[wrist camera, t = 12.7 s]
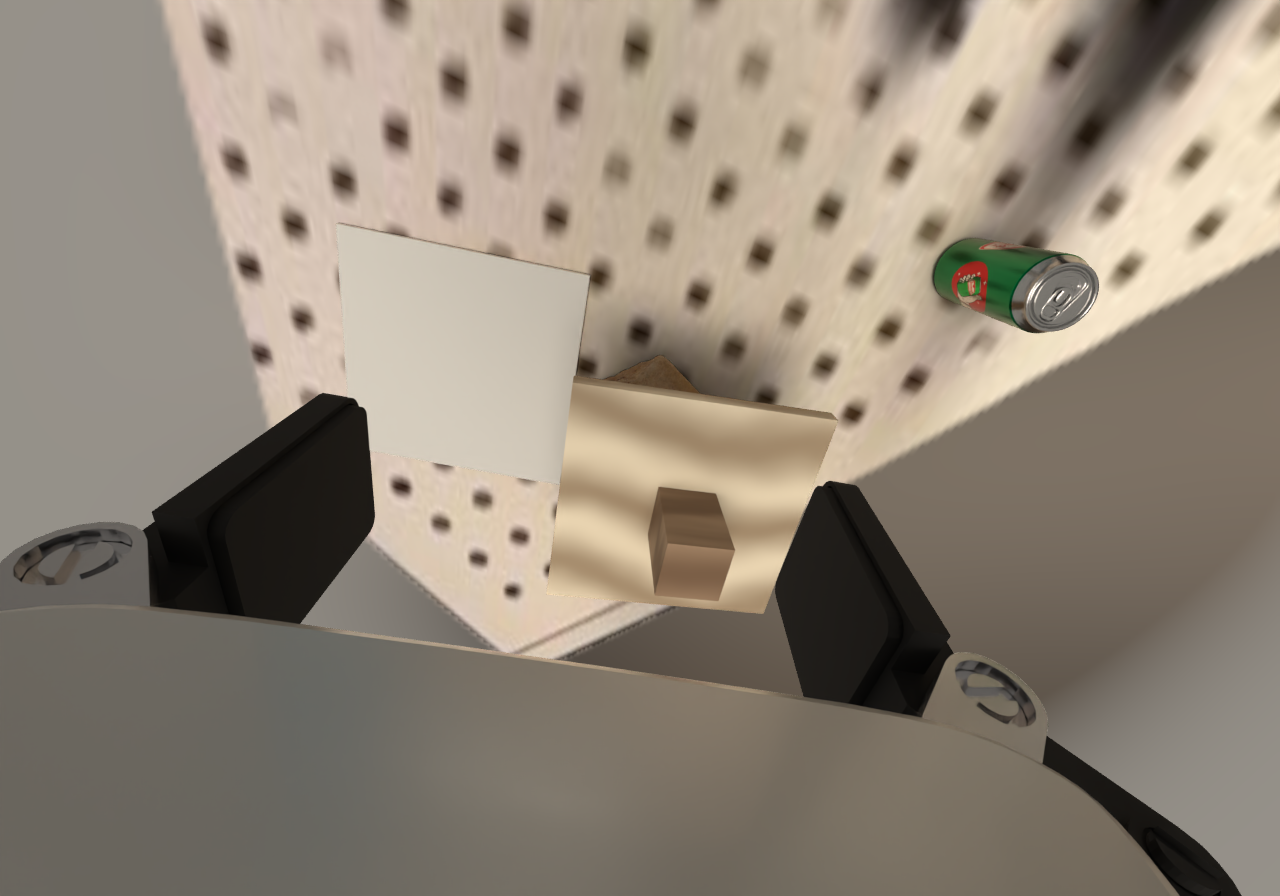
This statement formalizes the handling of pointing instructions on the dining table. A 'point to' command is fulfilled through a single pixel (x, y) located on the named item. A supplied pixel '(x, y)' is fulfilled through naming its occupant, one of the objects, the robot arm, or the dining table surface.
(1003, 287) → the soda can
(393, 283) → the grey mat
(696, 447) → the birch lid
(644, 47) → the dining table surface
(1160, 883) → the robot arm
